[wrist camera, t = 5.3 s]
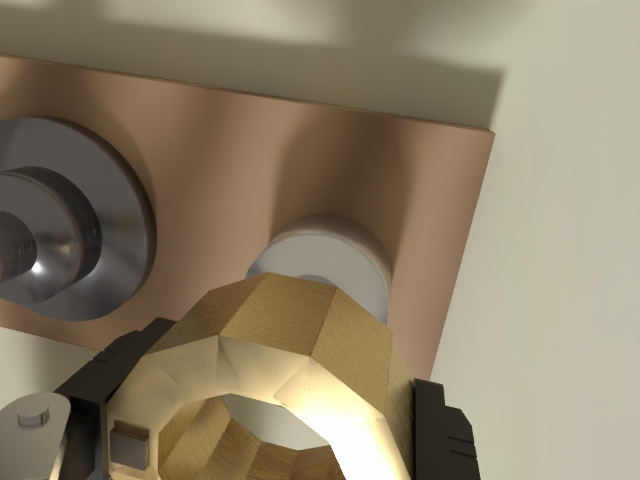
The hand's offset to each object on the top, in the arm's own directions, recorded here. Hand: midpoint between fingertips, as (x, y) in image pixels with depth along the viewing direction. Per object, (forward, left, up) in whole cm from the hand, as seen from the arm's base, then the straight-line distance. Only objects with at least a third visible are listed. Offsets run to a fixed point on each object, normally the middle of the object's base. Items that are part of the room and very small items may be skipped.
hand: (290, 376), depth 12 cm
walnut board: (+6, 0, -8) cm, 10 cm away
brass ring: (0, 0, 0) cm, 0 cm away
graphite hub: (+12, 0, -7) cm, 14 cm away
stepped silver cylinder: (0, 0, -7) cm, 7 cm away
